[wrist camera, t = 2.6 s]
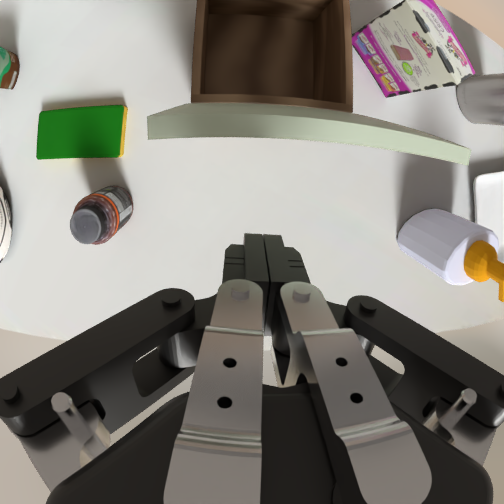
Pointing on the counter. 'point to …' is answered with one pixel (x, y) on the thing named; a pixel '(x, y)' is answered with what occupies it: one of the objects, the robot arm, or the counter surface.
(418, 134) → the lid
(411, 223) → the soap bottle
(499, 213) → the salad plate
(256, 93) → the walnut box
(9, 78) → the food container
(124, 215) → the supplement bottle
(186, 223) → the counter surface
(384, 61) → the candy bar box
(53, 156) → the dish sponge
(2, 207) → the milk container
